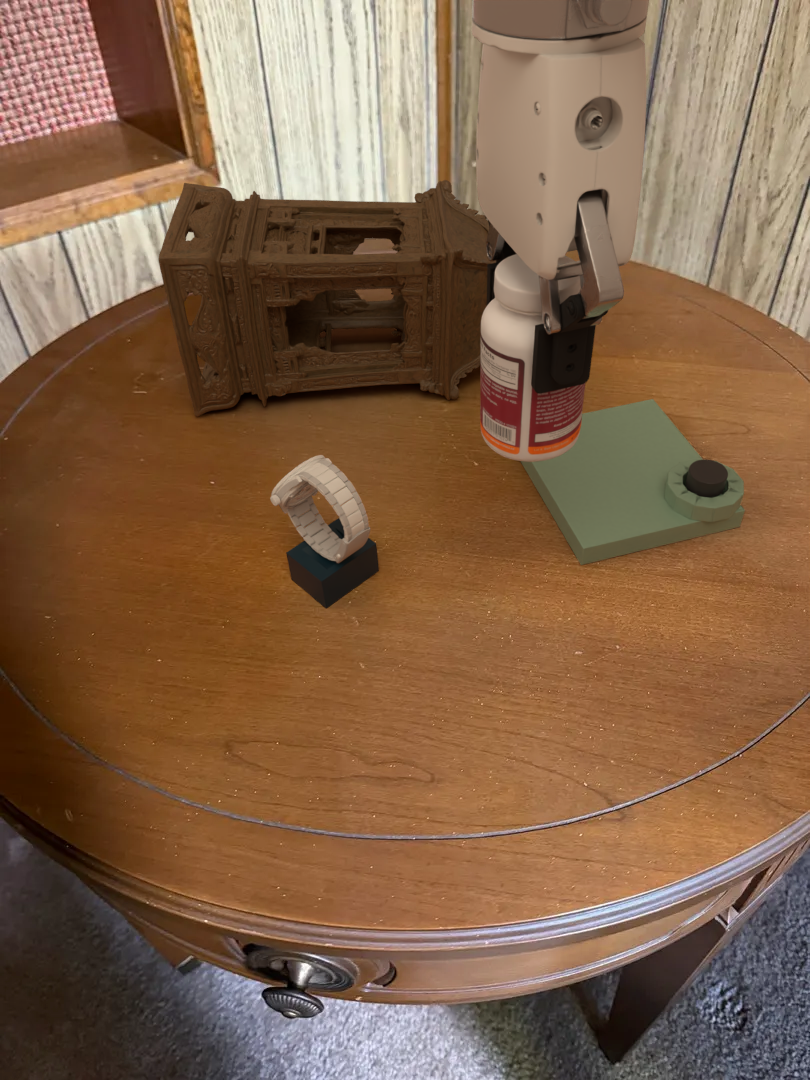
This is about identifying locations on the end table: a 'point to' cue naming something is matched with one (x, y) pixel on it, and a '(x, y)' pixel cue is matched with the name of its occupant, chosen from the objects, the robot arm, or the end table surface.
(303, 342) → the brown lantern
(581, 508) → the scale
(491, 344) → the pill bottle
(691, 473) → the button
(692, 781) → the end table surface
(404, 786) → the end table surface
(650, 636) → the end table surface
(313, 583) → the watch
